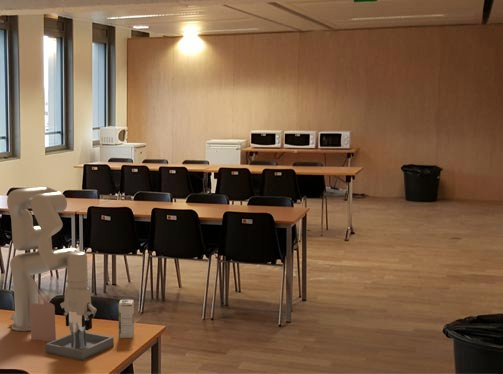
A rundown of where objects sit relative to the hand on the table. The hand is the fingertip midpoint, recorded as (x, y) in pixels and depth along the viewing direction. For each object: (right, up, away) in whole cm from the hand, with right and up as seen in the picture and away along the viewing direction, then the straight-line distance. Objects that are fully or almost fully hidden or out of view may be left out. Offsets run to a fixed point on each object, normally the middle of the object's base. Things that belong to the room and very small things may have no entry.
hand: (78, 327), depth 277 cm
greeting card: (-17, -8, +12) cm, 22 cm away
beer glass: (0, -8, +1) cm, 8 cm away
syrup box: (+16, -7, +16) cm, 24 cm away
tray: (0, -9, +1) cm, 9 cm away
